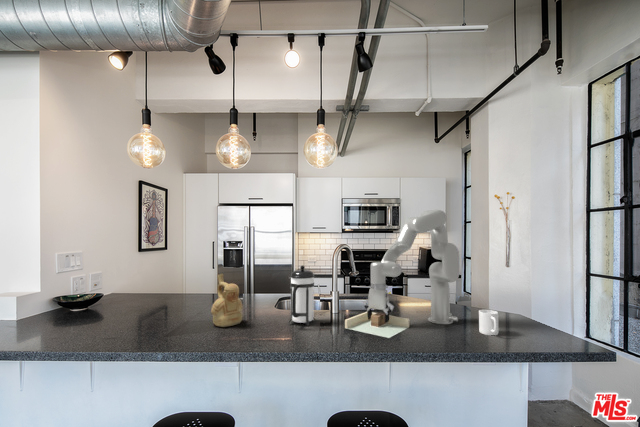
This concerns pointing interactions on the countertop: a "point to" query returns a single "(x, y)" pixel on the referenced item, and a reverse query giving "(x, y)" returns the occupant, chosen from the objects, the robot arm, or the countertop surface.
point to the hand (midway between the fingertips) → (378, 320)
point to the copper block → (378, 319)
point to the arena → (385, 330)
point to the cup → (488, 322)
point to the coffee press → (302, 296)
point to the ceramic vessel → (227, 305)
